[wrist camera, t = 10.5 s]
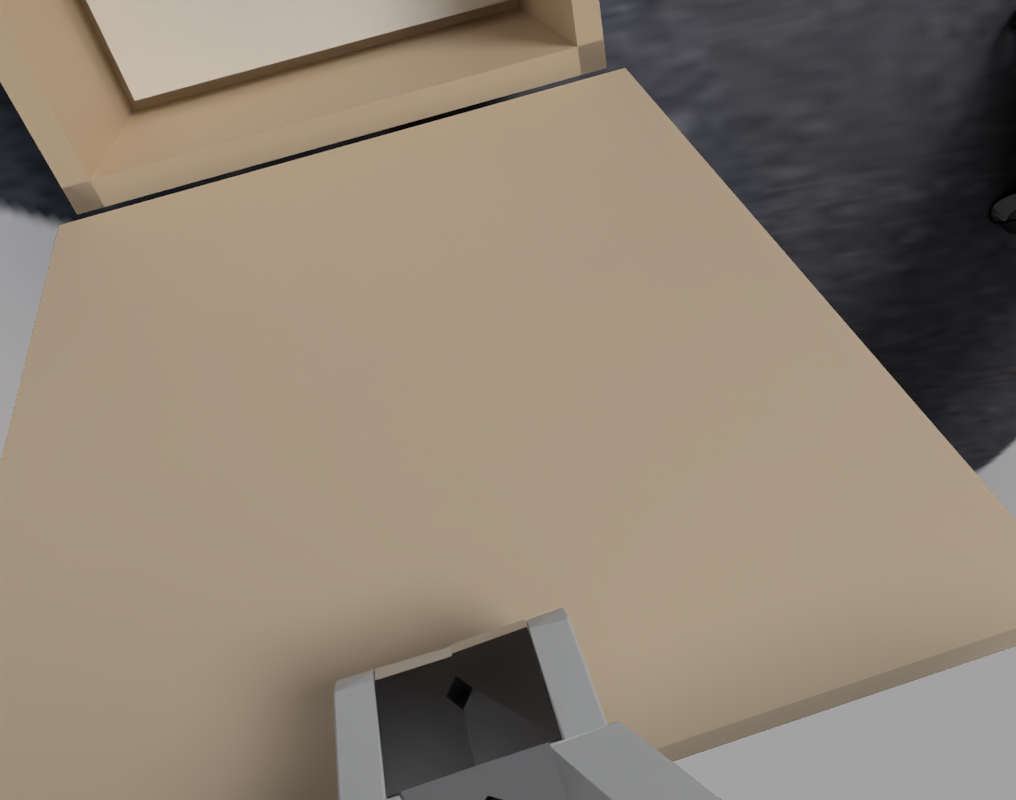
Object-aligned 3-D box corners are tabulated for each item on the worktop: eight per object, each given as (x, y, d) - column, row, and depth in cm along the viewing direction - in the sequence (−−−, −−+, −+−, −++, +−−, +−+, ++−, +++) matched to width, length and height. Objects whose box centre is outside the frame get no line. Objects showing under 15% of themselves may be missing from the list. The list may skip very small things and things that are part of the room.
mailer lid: (-136, 1014, 10) (-83, 1018, 10) (1088, 604, 11) (1064, 631, 11) (58, 225, 22) (77, 250, 22) (625, 68, 23) (626, 96, 23)
